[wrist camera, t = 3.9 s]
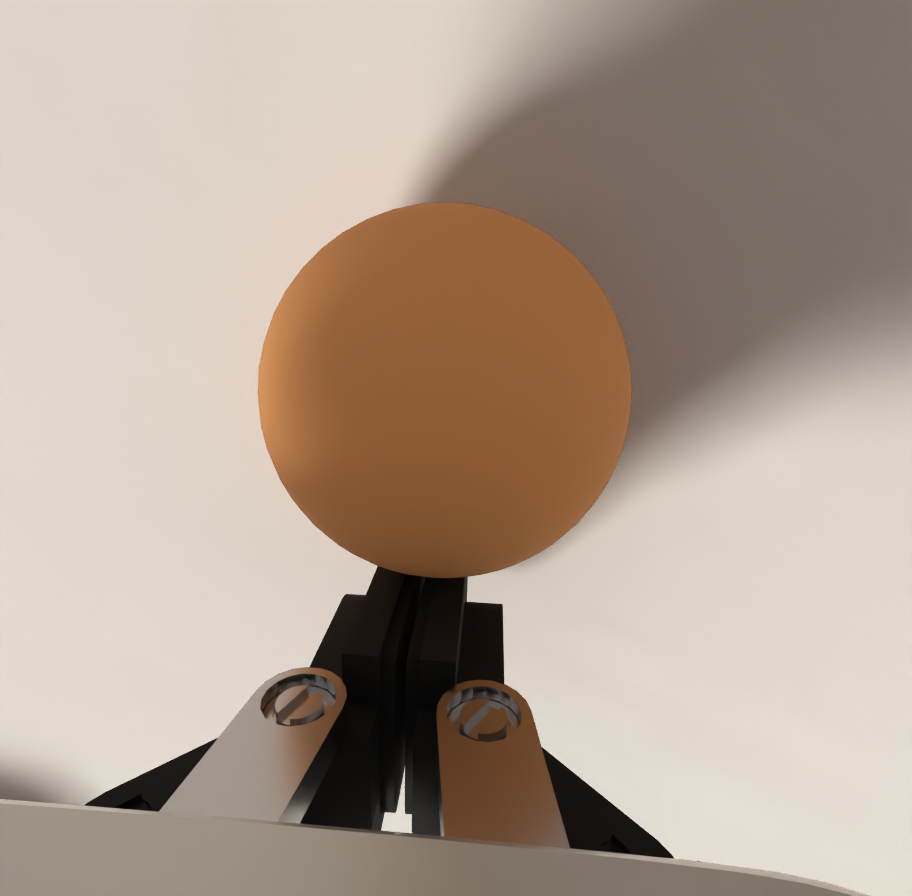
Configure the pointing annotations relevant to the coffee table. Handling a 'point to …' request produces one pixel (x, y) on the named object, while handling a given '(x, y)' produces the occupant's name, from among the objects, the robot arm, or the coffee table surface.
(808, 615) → the coffee table surface
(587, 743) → the coffee table surface
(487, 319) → the ball
